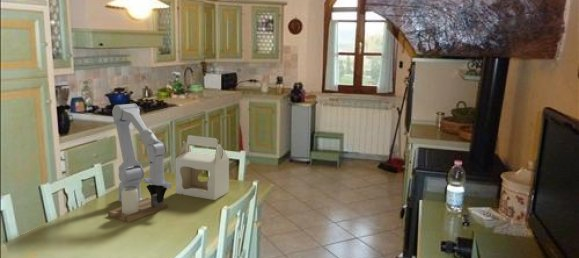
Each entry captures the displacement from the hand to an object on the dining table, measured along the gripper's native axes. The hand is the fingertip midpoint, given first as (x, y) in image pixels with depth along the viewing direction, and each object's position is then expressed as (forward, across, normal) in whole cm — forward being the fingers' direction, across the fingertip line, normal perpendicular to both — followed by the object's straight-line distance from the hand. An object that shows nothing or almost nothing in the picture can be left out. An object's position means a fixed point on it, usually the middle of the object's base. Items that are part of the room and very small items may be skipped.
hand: (157, 201), depth 192 cm
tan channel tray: (+4, -5, -6) cm, 9 cm away
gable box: (+4, 0, +29) cm, 29 cm away
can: (+4, -4, -11) cm, 12 cm away
